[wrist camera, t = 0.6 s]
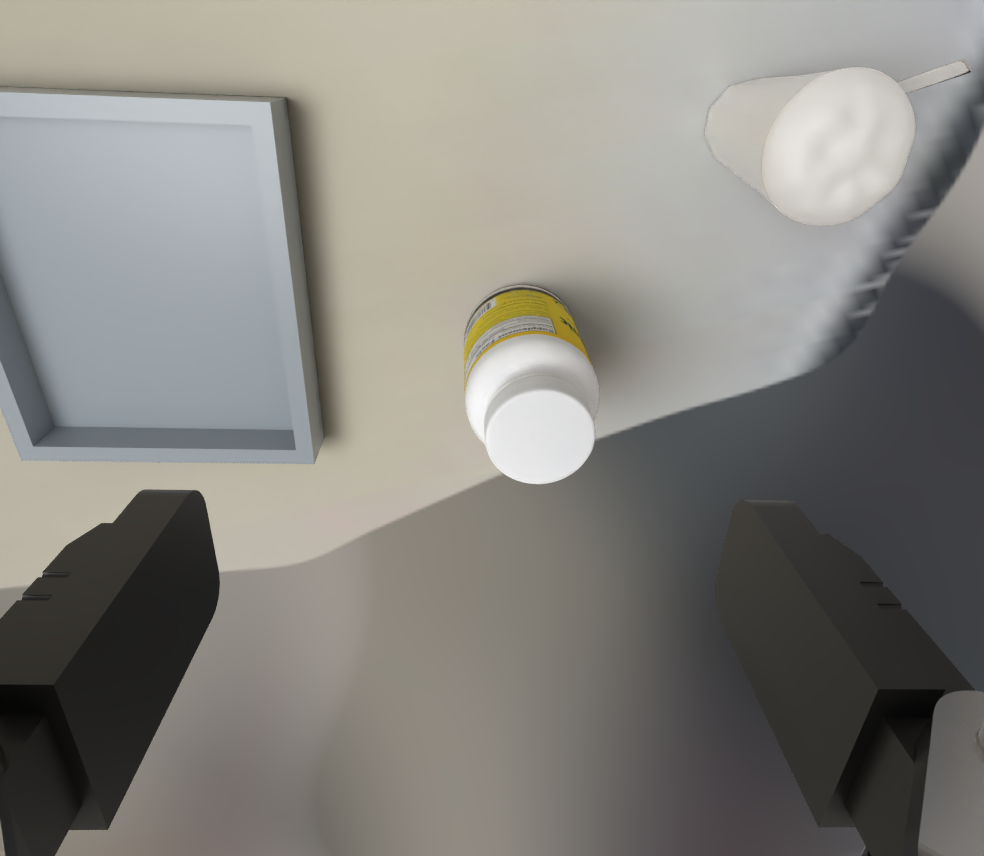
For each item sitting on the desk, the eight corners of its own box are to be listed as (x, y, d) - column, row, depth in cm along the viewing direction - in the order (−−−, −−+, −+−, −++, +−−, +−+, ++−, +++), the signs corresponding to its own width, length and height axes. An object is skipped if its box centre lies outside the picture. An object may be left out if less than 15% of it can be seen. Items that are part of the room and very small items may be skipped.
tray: (-77, 83, 25) (-127, 87, 23) (286, 97, 26) (270, 102, 24) (49, 433, 34) (21, 460, 31) (324, 437, 34) (314, 463, 32)
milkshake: (836, 98, 27) (1011, 124, 18) (735, 202, 29) (849, 271, 20) (767, 14, 25) (923, 0, 17) (665, 131, 27) (757, 172, 19)
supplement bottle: (578, 377, 33) (616, 492, 24) (472, 391, 33) (474, 509, 25) (572, 273, 30) (612, 362, 22) (456, 288, 30) (452, 383, 22)
